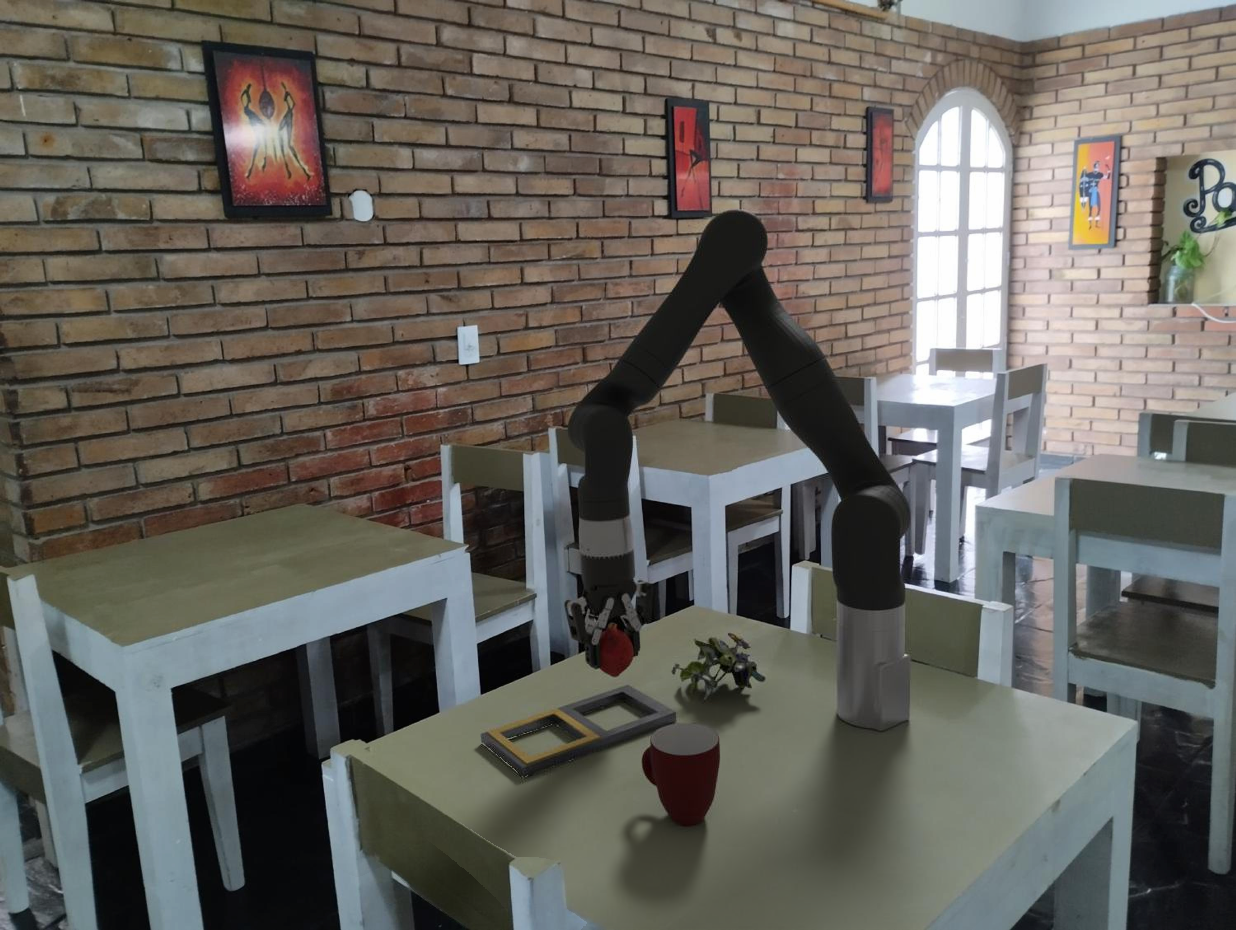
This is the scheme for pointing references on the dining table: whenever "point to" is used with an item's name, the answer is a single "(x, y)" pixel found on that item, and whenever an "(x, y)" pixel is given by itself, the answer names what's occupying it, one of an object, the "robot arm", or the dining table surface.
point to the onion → (615, 651)
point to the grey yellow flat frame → (577, 729)
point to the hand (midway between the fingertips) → (613, 660)
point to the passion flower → (727, 660)
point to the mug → (684, 769)
